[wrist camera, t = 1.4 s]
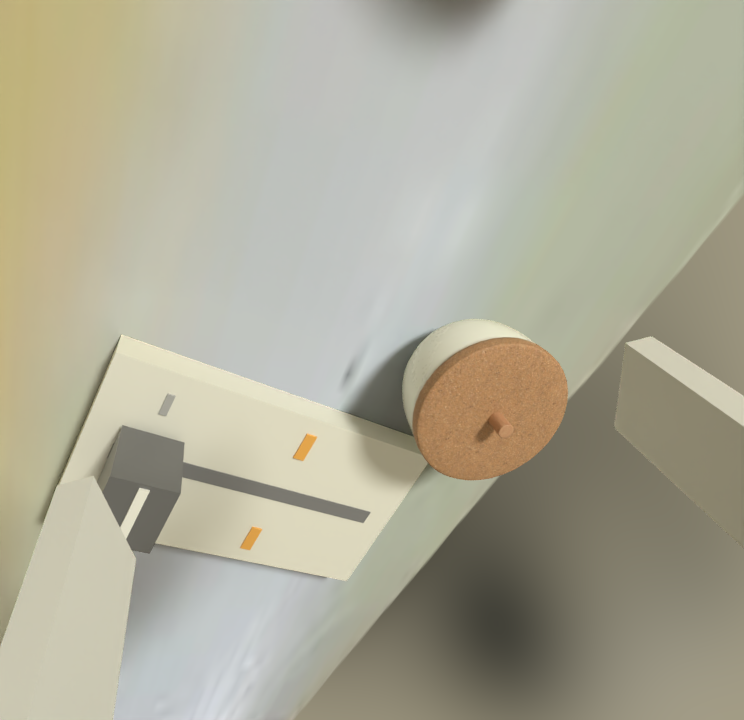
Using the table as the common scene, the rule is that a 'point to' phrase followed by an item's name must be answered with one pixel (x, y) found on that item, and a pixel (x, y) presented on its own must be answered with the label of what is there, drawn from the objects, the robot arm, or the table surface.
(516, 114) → the table surface
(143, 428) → the console
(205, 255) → the table surface
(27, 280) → the table surface
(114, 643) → the robot arm
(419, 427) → the lidded jar
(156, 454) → the fader tab
